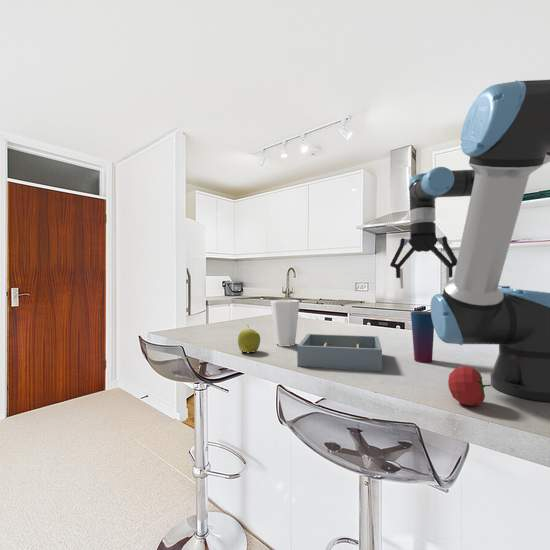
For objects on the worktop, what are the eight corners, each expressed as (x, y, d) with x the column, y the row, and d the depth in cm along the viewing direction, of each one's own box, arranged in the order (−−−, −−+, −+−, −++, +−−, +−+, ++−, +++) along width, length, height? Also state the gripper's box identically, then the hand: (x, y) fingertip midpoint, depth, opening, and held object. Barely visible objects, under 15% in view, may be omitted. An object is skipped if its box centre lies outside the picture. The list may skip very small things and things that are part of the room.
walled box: (382, 371, 92) (381, 349, 91) (297, 366, 98) (297, 346, 98) (378, 354, 111) (378, 336, 111) (307, 350, 117) (307, 333, 117)
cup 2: (438, 364, 98) (437, 313, 98) (413, 363, 99) (413, 313, 99) (432, 358, 104) (431, 311, 104) (409, 357, 106) (408, 311, 106)
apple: (233, 352, 112) (236, 322, 115) (240, 353, 119) (243, 326, 122) (255, 353, 110) (257, 323, 113) (261, 354, 117) (263, 327, 120)
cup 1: (303, 346, 124) (303, 301, 124) (278, 349, 120) (278, 302, 120) (291, 340, 134) (290, 299, 134) (268, 343, 130) (267, 300, 130)
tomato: (443, 360, 70) (484, 358, 66) (452, 375, 75) (492, 375, 70) (445, 396, 66) (489, 398, 61) (455, 411, 70) (497, 413, 66)
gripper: (462, 222, 107) (463, 287, 107) (381, 226, 114) (382, 288, 113) (468, 218, 100) (470, 288, 99) (382, 223, 107) (383, 288, 106)
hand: (423, 288), depth 106 cm, fingers open, 13 cm apart
